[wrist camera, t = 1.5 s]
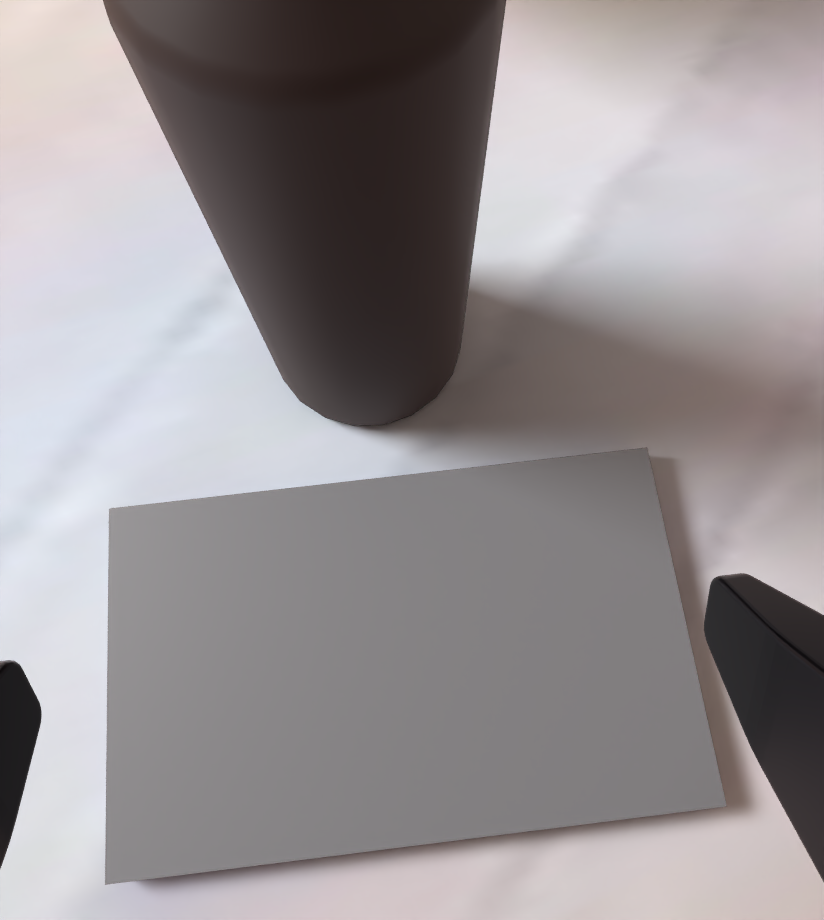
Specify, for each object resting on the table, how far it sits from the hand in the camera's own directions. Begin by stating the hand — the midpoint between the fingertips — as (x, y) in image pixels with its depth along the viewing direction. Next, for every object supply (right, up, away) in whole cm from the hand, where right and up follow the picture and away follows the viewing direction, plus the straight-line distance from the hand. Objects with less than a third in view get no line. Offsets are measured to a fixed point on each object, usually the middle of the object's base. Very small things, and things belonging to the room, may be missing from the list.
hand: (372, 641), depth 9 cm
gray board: (0, -4, +13) cm, 14 cm away
